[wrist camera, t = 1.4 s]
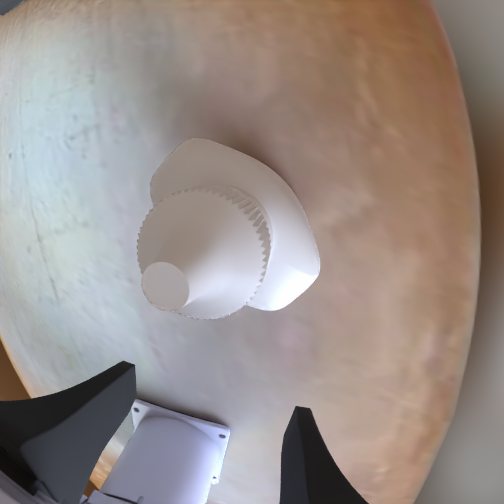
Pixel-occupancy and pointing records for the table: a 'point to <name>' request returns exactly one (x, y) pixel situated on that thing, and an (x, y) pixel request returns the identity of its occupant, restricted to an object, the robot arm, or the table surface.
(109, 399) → the robot arm
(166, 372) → the table surface
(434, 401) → the table surface
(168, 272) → the eye dropper bottle
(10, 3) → the disk drive
